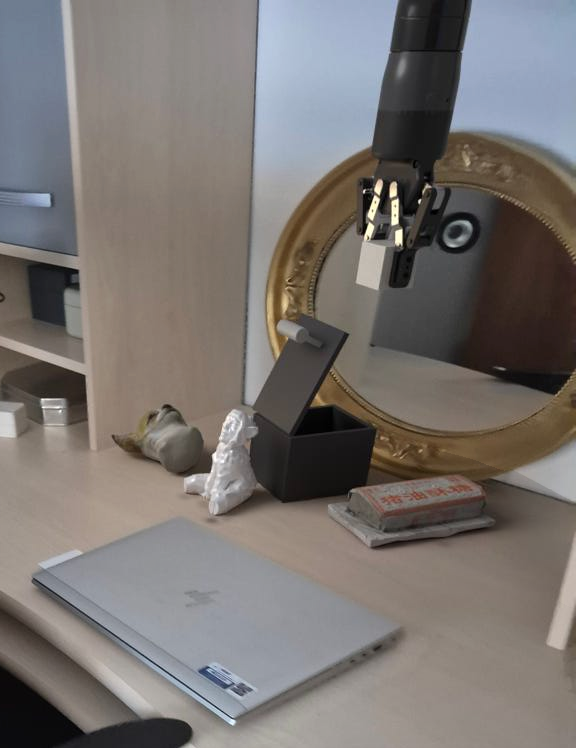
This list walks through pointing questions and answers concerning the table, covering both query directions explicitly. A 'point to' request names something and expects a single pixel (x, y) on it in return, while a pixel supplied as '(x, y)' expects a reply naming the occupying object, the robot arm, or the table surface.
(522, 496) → the table surface
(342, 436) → the open hinged box
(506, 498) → the table surface
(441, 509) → the packaged product
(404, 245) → the robot arm
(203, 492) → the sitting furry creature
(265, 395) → the box lid
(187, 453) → the ceramic sculpture
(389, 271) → the off-white matte cube
